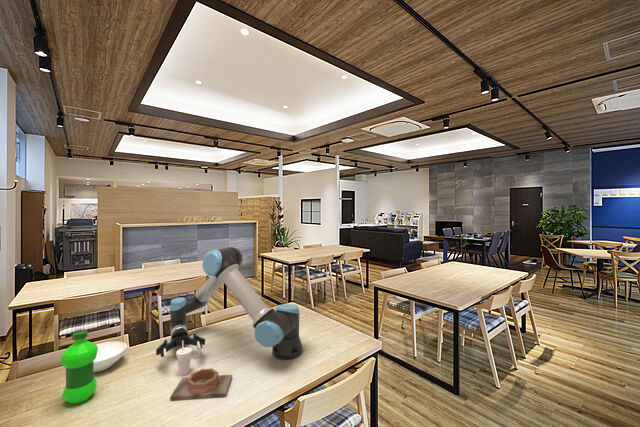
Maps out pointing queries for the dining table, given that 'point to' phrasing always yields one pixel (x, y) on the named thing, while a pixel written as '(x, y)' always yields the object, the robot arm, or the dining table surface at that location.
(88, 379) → the plastic bottle
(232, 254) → the robot arm
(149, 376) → the dining table surface
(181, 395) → the brown cup holder
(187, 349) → the smoothie
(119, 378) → the dining table surface
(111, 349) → the bowl
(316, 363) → the dining table surface
